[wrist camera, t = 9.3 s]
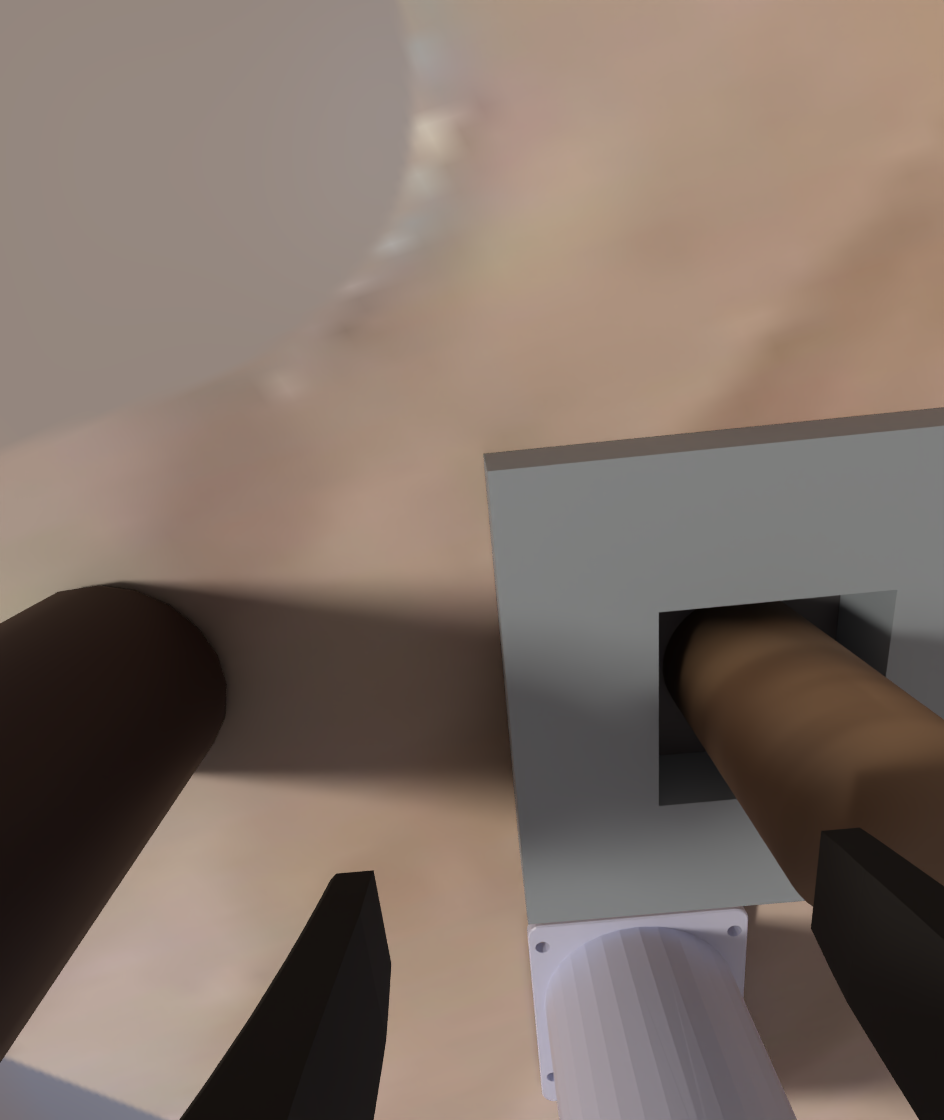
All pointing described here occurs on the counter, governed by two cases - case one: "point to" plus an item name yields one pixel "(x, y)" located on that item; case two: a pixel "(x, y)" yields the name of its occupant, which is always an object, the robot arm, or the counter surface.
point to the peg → (809, 736)
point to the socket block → (658, 609)
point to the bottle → (88, 765)
